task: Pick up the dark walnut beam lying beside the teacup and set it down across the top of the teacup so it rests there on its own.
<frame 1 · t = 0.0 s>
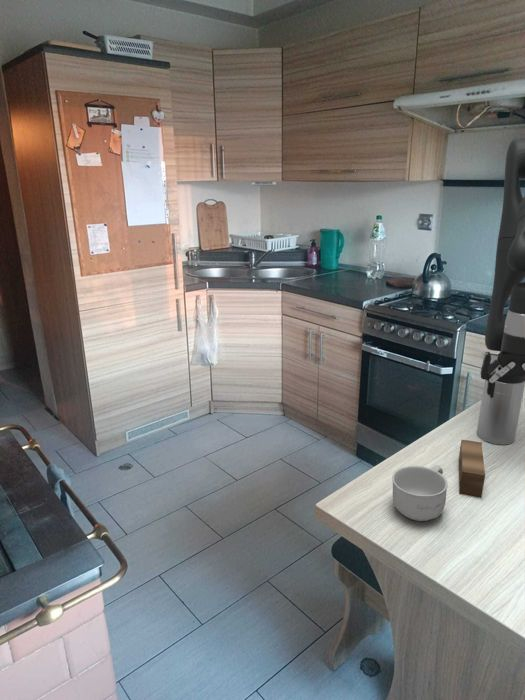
hand: (511, 398, 113), 17 cm above the table, tool pointing down, fingers open, 8 cm apart
teacup: (421, 509, 104), on the table
walnut beam: (469, 478, 114), on the table
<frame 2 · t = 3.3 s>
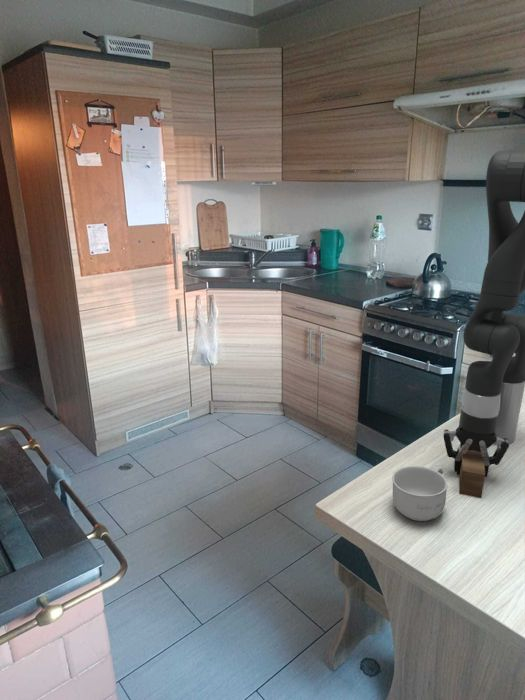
hand: (469, 474, 114), 1 cm above the table, tool pointing down, fingers closed on walnut beam, 4 cm apart
walnut beam: (469, 478, 114), on the table, touching gripper
everything else where it was.
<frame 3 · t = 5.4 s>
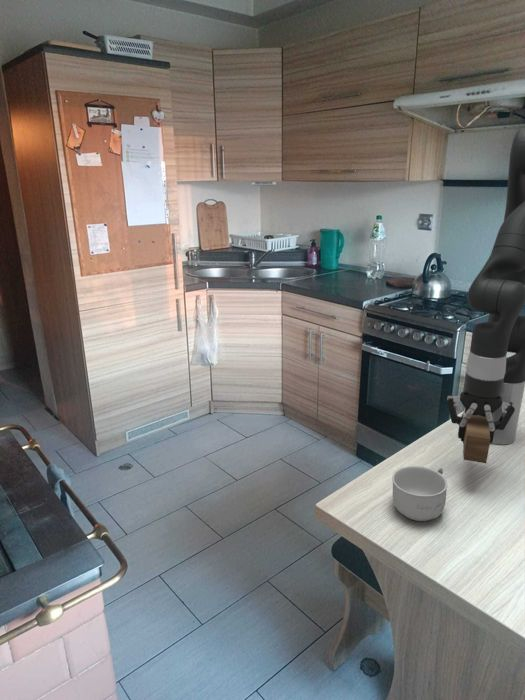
hand: (474, 441, 111), 10 cm above the table, tool pointing down, fingers closed on walnut beam, 4 cm apart
walnut beam: (473, 444, 111), point 9 cm above the table, touching gripper
everything else where it was.
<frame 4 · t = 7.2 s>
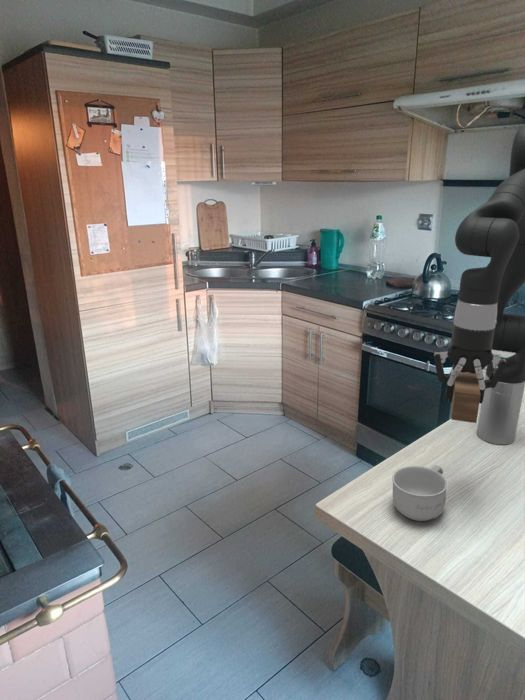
hand: (463, 402, 102), 22 cm above the table, tool pointing down, fingers closed on walnut beam, 4 cm apart
walnut beam: (462, 406, 102), point 21 cm above the table, touching gripper
everything else where it was.
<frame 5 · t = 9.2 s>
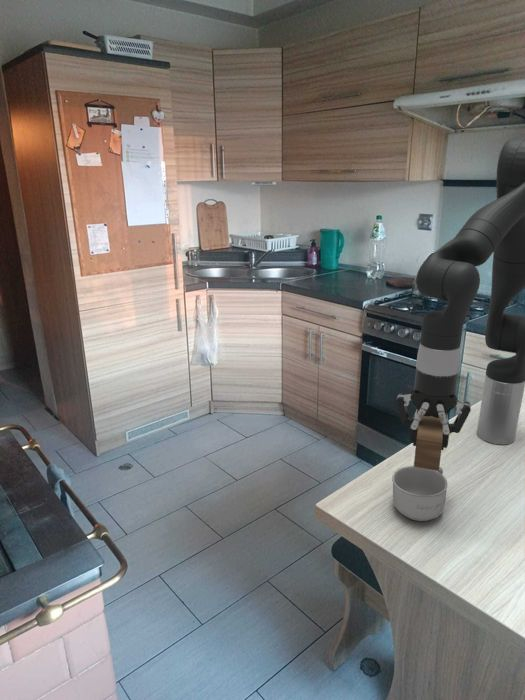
hand: (428, 445, 98), 15 cm above the table, tool pointing down, fingers closed on walnut beam, 4 cm apart
walnut beam: (427, 449, 99), point 15 cm above the table, touching gripper
everything else where it was.
when the fingers open (10 cm above the table, at t = 11.1 s): walnut beam drops 1 cm, resting on teacup.
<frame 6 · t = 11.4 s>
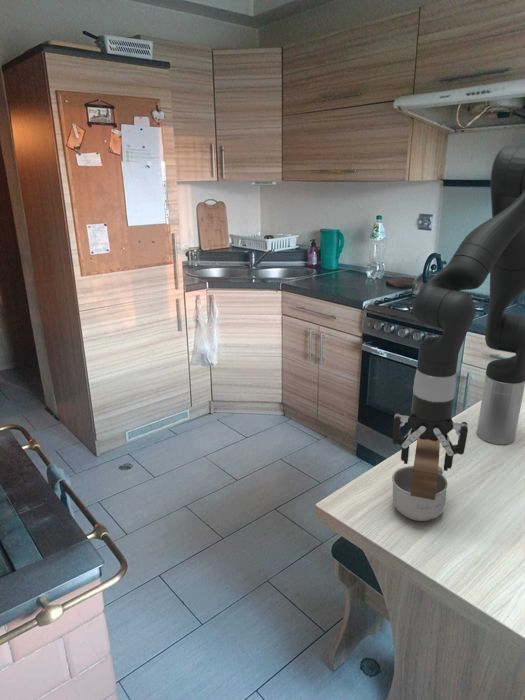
hand: (425, 465, 100), 11 cm above the table, tool pointing down, fingers open, 7 cm apart
teacup: (421, 509, 104), on the table, touching walnut beam
walnut beam: (424, 477, 101), point 8 cm above the table, touching teacup
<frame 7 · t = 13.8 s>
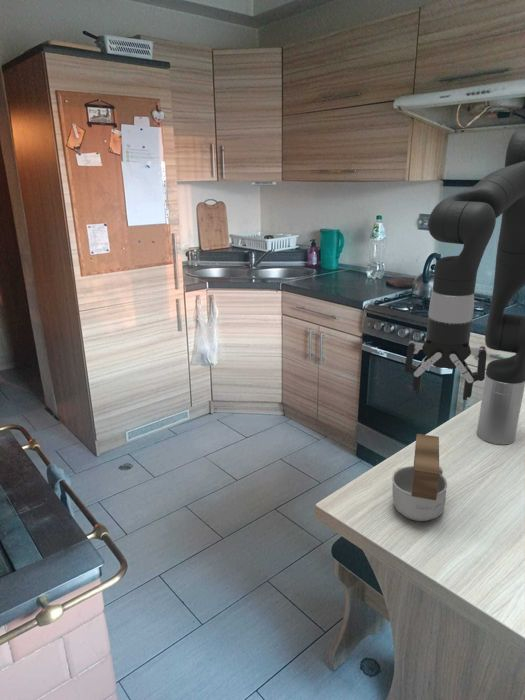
hand: (440, 395, 96), 26 cm above the table, tool pointing down, fingers open, 8 cm apart
nothing on the table moved.
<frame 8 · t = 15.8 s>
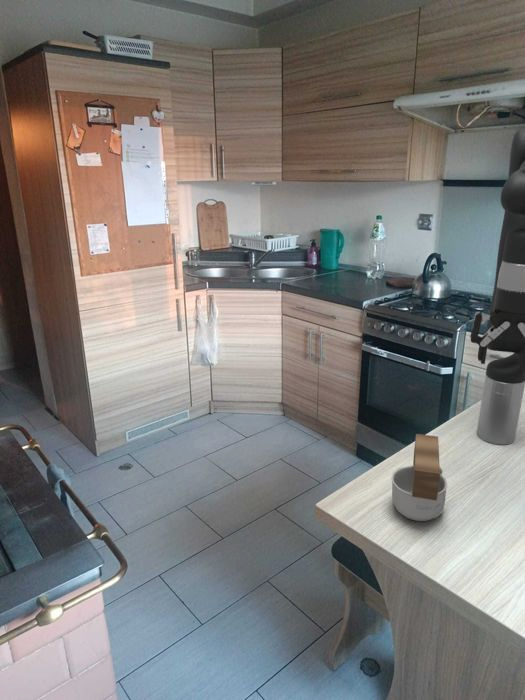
hand: (505, 365, 99), 30 cm above the table, tool pointing down, fingers open, 8 cm apart
nothing on the table moved.
at the end: walnut beam inside the target area on the teacup (0.5 cm from its centre), point 8.2 cm above the teacup's base; walnut beam tilted 0°; walnut beam touching teacup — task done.
